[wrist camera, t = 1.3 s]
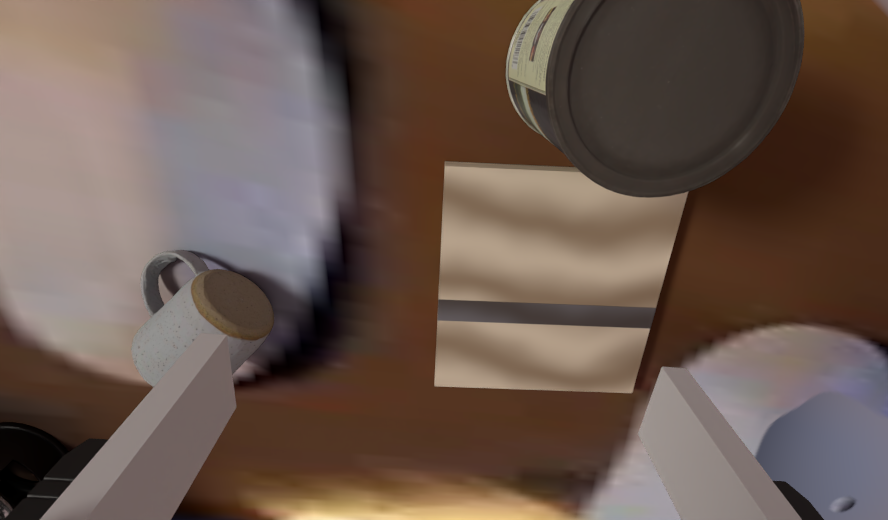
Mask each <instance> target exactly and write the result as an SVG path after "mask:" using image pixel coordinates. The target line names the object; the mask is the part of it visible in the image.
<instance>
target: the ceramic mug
mask: <svg viewBox="0 0 888 520" xmlns="http://www.w3.org/2000/svg"><path fill="white" fill-rule="evenodd" d="M177 258H179V259H180V260H183V261H184V262H185V263H186V264H187V265H188V266H189V267H190V269H191V270H192V271H193V272H194V274H195V277H194V278H193V279H191V280H190V281H188V282H187V283H186V284H185V285H184V286H183V287H182V288H181V289H180V290H179V291H178V292H177V293H176V294H175V295H174V296H173V297H172V298H171V300H169V301H168V302H167V303H166V304H165V305H164V303H163V301H162V298H161V296H160V292H159V286H158V277H159V274H160V272H161V270H162V269H163V268H165V267H166V266H167V265H168V264H169V263H170V262H174V261H176V259H177ZM141 293H142V297H143V300H144V304H145V306H146V309H147V310H148V312H149V314H150V316H151V318H150V319H149V320H148V321H147V322H146V323H145V324H144V325H143V326H142V327H141V328H140V329H139V331H138V332H137V333H136V335H135V336H134V339H133V343H132V348H131V350H132V357H133V360H134V364H135V366H136V368H137V370H138V371H139V373H140V375H141V376H142V377H143V378H144V380H145V381H146V382H147V383H149V384H150V385H152V386H153V387H155V385H156V384H157V383H158V382H159V381H160V380H161V378H162V377H163V376H164V375H165V374H166V373H167V371H168V370H169V369H170V368H171V367H172V366H173V364H174V363H175V362H176V361H177V360H178V359H179V358H180V356H181V355H182V354H183V353H184V352H185V351H186V349H187V348H188V347H189V346H190V345H191V344H192V342H193V341H194V340H195V339H196V338H197V337H198V335H199V334H200V333H207V334H221V335H227V339H228V347H229V354H230V362H231V370H232V374H233V373H234V372H235V371H236V370H237V369H238V368H239V367H240V366H241V365H242V364H243V363H244V362H245V361H246V360H247V359H248V358H249V357H250V356H251V355H252V354H253V353H254V352H255V351H256V350H257V349H258V348H259V347H260V346H261V344H262V343H263V342H264V341H265V339H266V338H267V336H268V335H269V333H270V331H271V329H272V327H273V324H274V313H273V309H272V306H271V304H270V302H269V300H268V299H267V297H266V295H265V294H264V293H263V292H262V291H261V289H260V288H259V287H258V286H257V285H255V284H254V283H253V282H252V281H250V280H248V279H247V278H245V277H244V276H242V275H240V274H237V273H235V272H232V271H227V270H221V269H215V270H209V269H208V267H207V265H206V264H205V263H204V261H203V260H201V259H200V258H198V256H196V255H195V254H193V253H191V252H189V251H185V250H176V251H166V252H162V253H160V254H158V255H156V256H154V257H153V258H152V259H151V260H150V261H149V262H148V263H147V264H146V266H145V267H144V269H143V272H142V275H141Z"/></svg>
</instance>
